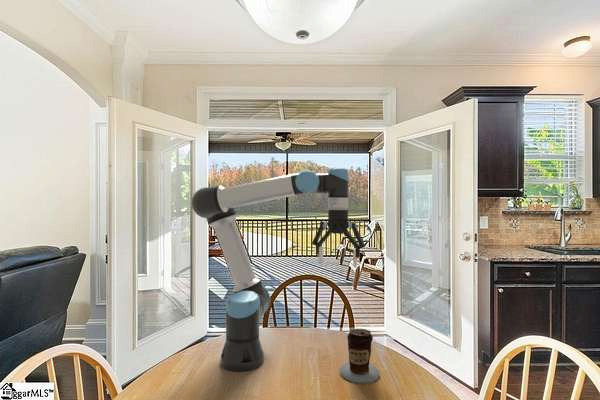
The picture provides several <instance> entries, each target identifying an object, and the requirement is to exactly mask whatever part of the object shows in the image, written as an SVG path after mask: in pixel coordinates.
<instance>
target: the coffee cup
mask: <svg viewBox="0 0 600 400" xmlns="http://www.w3.org/2000/svg"><path fill="white" fill-rule="evenodd" d="M371 333H372V332H371V330H369V329H365V328H354V329H351V330H349V333H348V334H347V346H348V347H347V348H348V349H347V350H348V361H349V362H348V363H349V364H350V371H351V372H353V373H355V374H367V373H369V364H370V359H371V356H372V355H371V354H372V341H373V337H374V336H373V335H372V334H371Z"/></svg>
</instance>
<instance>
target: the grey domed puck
mask: <svg viewBox="0 0 600 400" xmlns="http://www.w3.org/2000/svg"><path fill="white" fill-rule="evenodd" d="M339 375H340V376H341V377H342V378H343V379H344V380H345V381H348V382H351V383H353V384H361V385H362V384H363V385H365V384H366V385H367V384H371V383H375V382H377V381H378V380H379V379H380V370H379V369H378V368H377V367H376V366H375V365H372V364H371V363H369V373H367V374H355V373H353V372H351V371H350V364H349V362H346V363H344V364H342V365H341V366H340V368H339Z"/></svg>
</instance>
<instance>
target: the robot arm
mask: <svg viewBox="0 0 600 400" xmlns="http://www.w3.org/2000/svg"><path fill="white" fill-rule="evenodd" d="M306 194H328V197H327V198H328V199H327V201H328V211H327V215H328V216H327V219H328V220H327V221H323V220H322V221H320V222H319V227H318V230H317V232H316V234H315V236H314V238H313V239H312V241H311V242H312V243H311V245H313V246H315V247H316V255H317V256H318V265H322V264H323V263H324V246H323V245H324V243H325V242H326V240H327V239H328V238H329V237H330V236H331V234H334V235H335V234H339V235H344V236H345V237H346V238H347V240H348V241H349V242H350V243H351V244H352V246H353V247H354V249H353V253H352V255H353V256H352V257H353V258H352V261H353V264H352V266H353V267H352V268H357V267H358V259H360V256H361V249H363V248H365V247H366V244H365V242H364V240H363V237H362V235H361V234H360V232H359V229H358V226H357V222H356V221H354V222H349V209H348V208H349V171H348V169H347V168H343V167H332V168H328V171H327V173H315V172H314V171H313V170H309V169H307V170H302V171H300V172H297V173H296V172H295V173H292V174H287V175H281V176H275V177H272V178H266V179H261V180H257V181H252V182H247V183H241V184H236V185H232V186H227V187H224V186H222V185H219V186H218V185H217V186H212V187H210V186H208V187H202V188H200V189H198V190H196V192H194V194H193V195H192V198H191V208H192V210H193V212H194V213H195V214H196V215H197V216H199V217H200V218H204V219H206V221H207V224H208V227H211V228H213V229H214V232H215V235H216V237H217V240H218V243H219V247H220V249H221V251H222V255H223V256H224V260H225V263H226V265H227V268H228V270H229V273H230V276H231V279H232V281H233V284H234V287H233V288H232V293H231V294H230V295H228V297H227V298H226V304H225V342H224V345H223V348H222V351H221V355H220V365H221V366H222V368H224V369H226V370H228V371H233V372H235V371H236V372H245V371H250V370H254V369H256V368H258V367H260V366H261V365H262V364H263V363H264V361H265V353H264V351H263V350H264V349H263V347H262V343H261V341H260V320H261V318H262V317H264V315H265V314H266V313H267V311H268V310H269V307H270V303H271V294H270V292H269V290H268V288H266V287H265V286H264V285H263V283H262V280H261V278H258V277H257V276H256V275H255V273H254V269H253V267H252V264H251V262H250V259H249V256H248V253H247V250H246V248H245V245H244V243H243V240H242V237H241V234H240V231H239V228H238V226H237V223H236V218H237V217H238V216H237V215H238V214H237V213H236V209H235V208H238V207H243V206H248V205H253V204H258V203H264V202H268V201H273V200H279V199H283V198H288V197H294V196H301V195H306ZM326 227H328V230H326V232H325V234H324V235H322V234H323V232H324V230H325V228H326ZM349 227H350V229H352V232H353V235H354V237H353V235H352V234H351V233H350V231H349V230H348V228H349ZM321 236H322V237H321Z"/></svg>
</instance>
